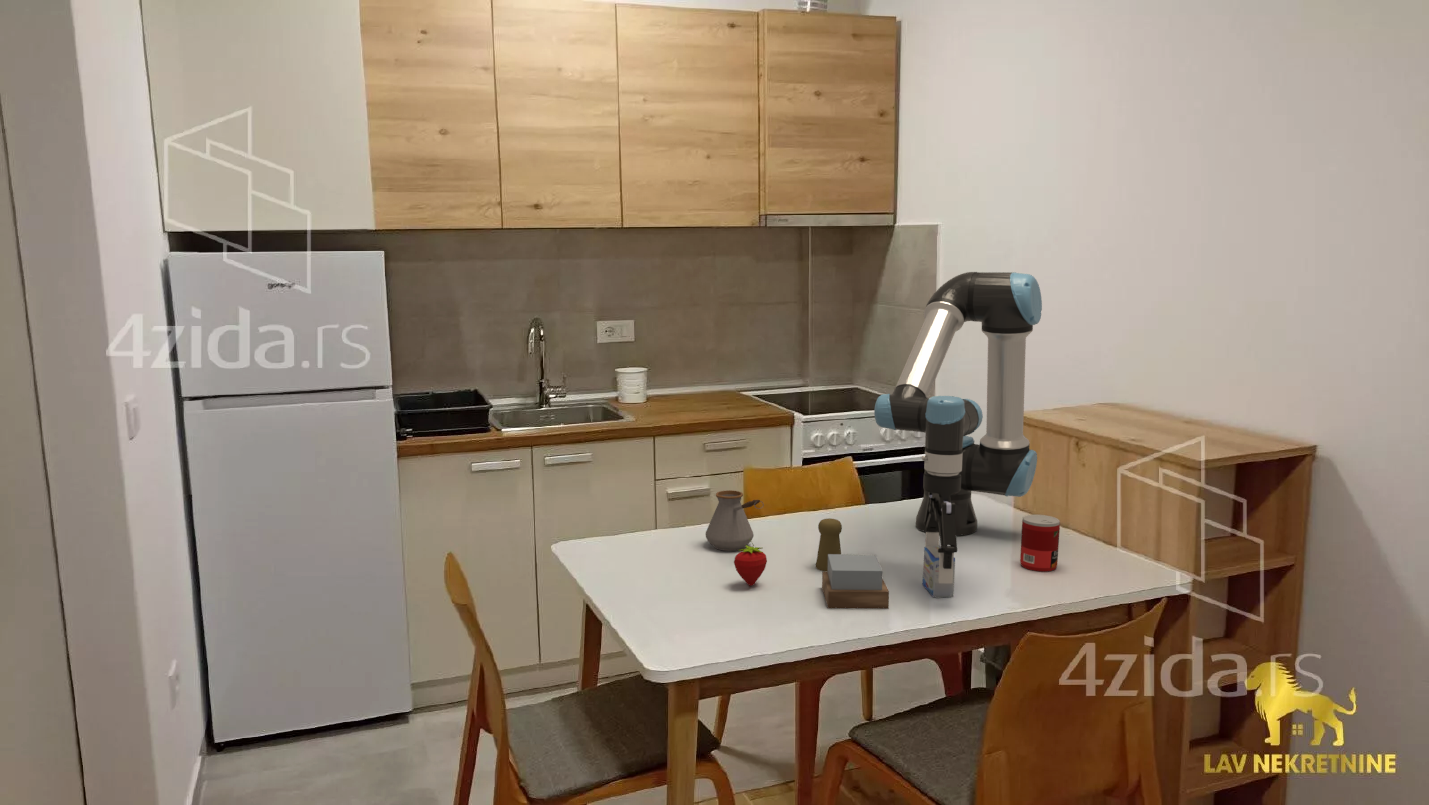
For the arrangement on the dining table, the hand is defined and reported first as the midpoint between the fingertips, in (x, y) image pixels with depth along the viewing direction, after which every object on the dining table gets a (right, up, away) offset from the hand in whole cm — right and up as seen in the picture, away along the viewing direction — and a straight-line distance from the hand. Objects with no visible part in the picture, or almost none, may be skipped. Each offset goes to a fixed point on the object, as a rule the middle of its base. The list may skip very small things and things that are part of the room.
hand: (938, 572), depth 212 cm
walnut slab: (-18, -5, -3) cm, 19 cm away
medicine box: (0, -4, +1) cm, 4 cm away
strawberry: (-39, -4, +4) cm, 39 cm away
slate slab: (-18, -1, -4) cm, 18 cm away
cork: (-21, -2, +16) cm, 26 cm away
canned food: (+26, -2, +17) cm, 31 cm away
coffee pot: (-41, 0, +27) cm, 49 cm away
